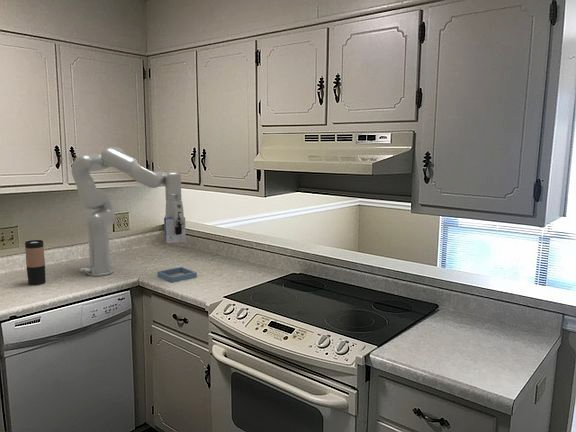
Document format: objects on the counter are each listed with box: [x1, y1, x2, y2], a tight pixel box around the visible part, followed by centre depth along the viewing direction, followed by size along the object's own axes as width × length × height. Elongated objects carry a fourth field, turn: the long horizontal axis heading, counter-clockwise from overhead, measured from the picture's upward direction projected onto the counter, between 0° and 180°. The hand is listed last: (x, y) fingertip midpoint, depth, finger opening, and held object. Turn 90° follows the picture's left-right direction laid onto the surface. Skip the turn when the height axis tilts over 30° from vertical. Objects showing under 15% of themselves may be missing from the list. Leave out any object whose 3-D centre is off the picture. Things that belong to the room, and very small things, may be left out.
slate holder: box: [156, 266, 198, 283], centre depth 233 cm, size 14×14×2 cm
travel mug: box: [24, 239, 46, 286], centre depth 218 cm, size 8×8×20 cm
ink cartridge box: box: [163, 216, 187, 244], centre depth 231 cm, size 10×6×14 cm, turn 116°
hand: (174, 232), depth 232 cm, fingers closed on ink cartridge box, 6 cm apart
